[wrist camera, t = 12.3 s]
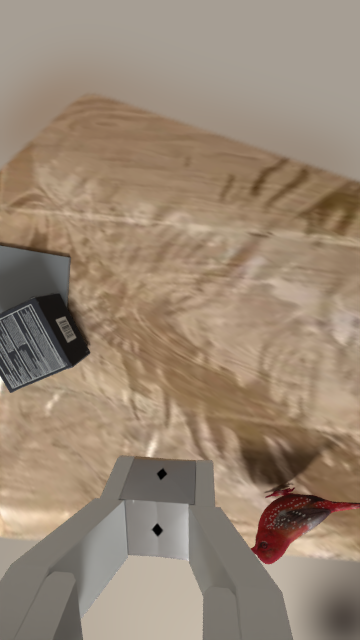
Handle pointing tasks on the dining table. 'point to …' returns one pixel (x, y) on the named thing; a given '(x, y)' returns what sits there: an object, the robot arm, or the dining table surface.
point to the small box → (38, 341)
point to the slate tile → (31, 276)
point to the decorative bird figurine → (291, 521)
